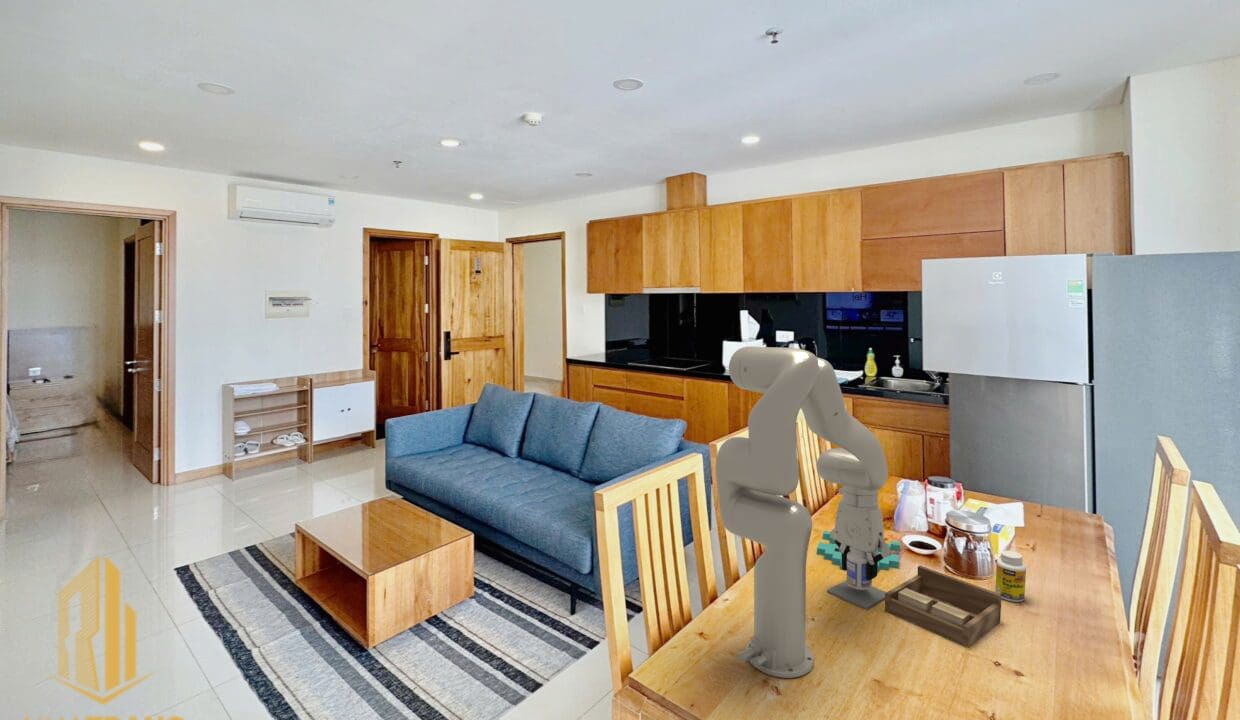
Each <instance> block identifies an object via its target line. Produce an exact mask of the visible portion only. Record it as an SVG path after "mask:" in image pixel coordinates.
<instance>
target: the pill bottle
mask: <svg viewBox="0 0 1240 720" xmlns="http://www.w3.org/2000/svg"><path fill="white" fill-rule="evenodd" d="M868 562H869V561H868V557H867V553H866V552H864V551H861V550H858V549H855V548H853V547H850V551H849V552H848V553H847V571H846V580H847V584H848V585H849V586H850V587H852V588H855V589H859V590H867V589H869V588H871V586H873V585H872V583H873V579H872V580H870V581H869V580H867V579H866V564H867V563H868Z"/></svg>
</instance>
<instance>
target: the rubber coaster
mask: <svg viewBox="0 0 1240 720" xmlns="http://www.w3.org/2000/svg"><path fill="white" fill-rule="evenodd" d="M826 592H827V593H828V594H831V595H833V596H835V597H837V598H839V599H842V600H845V601H846V602H847V603H850V604H853V605H854V606H857V607H860V608H861V609H864V610H866V611H868V610H869V609H871V608H872V607H874V606H876V605H877V604H879V603H881V602H884V601H885V593H886V592H887V591H884V590H882V589H880V588H877V587H875V586H874V585H872V586H871V588H869V589H867V590H859V589H855V588H852V587H850V586H849V585H848V584H847V579H846V580H843V581H842V582H840V583H838V584H836V585H835V586H832V587H830V588H828V589H827V590H826Z"/></svg>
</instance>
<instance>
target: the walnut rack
mask: <svg viewBox="0 0 1240 720" xmlns="http://www.w3.org/2000/svg"><path fill="white" fill-rule="evenodd" d="M905 588H906V589H909V590H911V591H914V592H916V593H919V594H921V595H924V596H927V597H929V598H932V599H933V605H934V604H936V603H938V602H941V603H944V604H947V605H949V606H952V607H954V608H957V609H959V610H962V611H964V612H967V613H969V614H970V619H969V622H967V623H966V624H965V625H963V628H962V627H960V626H957V625H955V624H952V623H950V622H948V621H945V620H943V619H941V618H938V617H936V616H933V615H931V614H929V613H926V612H924V611H922V610H919V609H917V608H914V607H912V606H910V605H907V604H905V603H903V602H900V601H898V592H900V591H901V590H903V589H905ZM885 592H886V593H885V600H884V611H885V612H886V613H887V612H888V613H889V614H892V615H895V616H897V617H898V618H900V619H904V620H905V621H907V622H910V623H912V624H914V625H916V626H918V627H921V628H924V629H925V630H928V631H930V632H933V633H935V634H937V635H939V636H941V637H943V638H946V639H947V640H951V641H953V642H954V643H957V644H959V645H962V646H964V647H966V648H969V647H971V645H973V644H974V643H975V642H976V641H978V640H980V639H981V637H983V636H984V635H986V634H987V633H988V632H989V631H991V630H992V629H993V628H995V627H996V626H997V625H998V624H999V623H1000V622H1001V618H1002V617H1001V616H1002V615H1001V613H1002V612H1001V611H1002V598H1001V594H998V593H996V592H995V591H992V590H990V589H986V588H984V587H982V586H979V585H975V584H972V583H969V582H967V581H964V580H962V579H958V578H956V577H954V576H950V575H949V574H945V573H943V572H939V571H937V570H934V569H931V568H928V567H926V566H922V565H918V566H917V574H916V575H915V576H913V577H911V578H909V579H907V580H906V581H904V582H902V583H901V584H899V585H897V586H895V587H894V588H891V589H890V590H888V591H885Z"/></svg>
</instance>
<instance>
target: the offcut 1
mask: <svg viewBox="0 0 1240 720" xmlns="http://www.w3.org/2000/svg"><path fill="white" fill-rule="evenodd" d="M921 594H922V593H920V594H919V593H916V592H914V591H911V590H909V589H906V588H905V589H903V590H901V591H900V592H898V601H900V602H903V603H905V604H907V605H910V606H912V607H914V608H917V609H919V610H922V611H924V612H926V613H929V614H931V615H932V606H933V599H934V598H933V597H931V598H929V597H930V596H928V595H926V596H924V595H925V594H923V595H921ZM927 596H928V597H927ZM932 598H933V599H932Z"/></svg>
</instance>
